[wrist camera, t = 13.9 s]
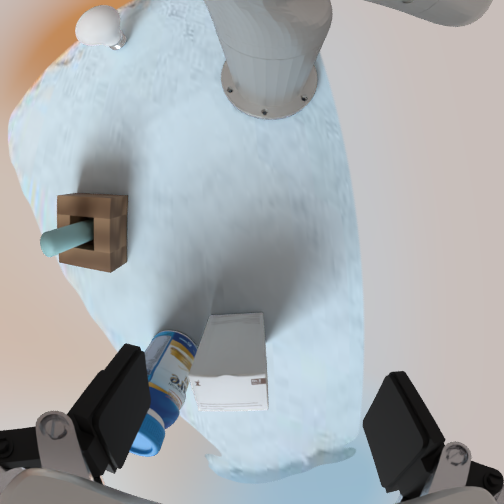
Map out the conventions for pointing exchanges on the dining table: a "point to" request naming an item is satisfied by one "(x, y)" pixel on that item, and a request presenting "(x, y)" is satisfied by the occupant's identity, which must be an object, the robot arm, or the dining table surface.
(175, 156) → the dining table surface
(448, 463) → the robot arm
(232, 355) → the skincare box
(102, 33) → the light bulb
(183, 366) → the beverage bottle
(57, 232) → the peg
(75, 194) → the socket block
